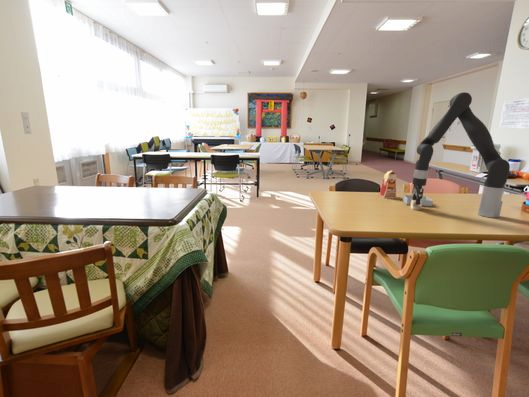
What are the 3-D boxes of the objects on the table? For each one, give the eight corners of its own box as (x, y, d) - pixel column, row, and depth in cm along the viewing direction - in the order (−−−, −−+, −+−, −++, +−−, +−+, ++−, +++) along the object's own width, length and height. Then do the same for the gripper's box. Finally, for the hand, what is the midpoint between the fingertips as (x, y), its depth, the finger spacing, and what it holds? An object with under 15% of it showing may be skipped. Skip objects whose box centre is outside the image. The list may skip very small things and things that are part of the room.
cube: (418, 208, 184) (420, 200, 183) (421, 210, 180) (422, 202, 178) (410, 207, 185) (411, 199, 184) (412, 209, 181) (413, 201, 180)
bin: (426, 201, 200) (426, 196, 199) (431, 206, 188) (432, 200, 187) (402, 200, 204) (402, 194, 203) (406, 204, 191) (407, 198, 190)
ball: (424, 202, 197) (425, 195, 196) (426, 204, 192) (427, 196, 191) (416, 201, 198) (417, 194, 197) (418, 203, 193) (419, 196, 192)
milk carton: (396, 198, 208) (400, 170, 203) (383, 198, 208) (387, 170, 204) (391, 195, 217) (394, 168, 212) (378, 195, 217) (382, 168, 212)
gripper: (430, 179, 171) (425, 206, 174) (423, 175, 184) (419, 200, 188) (416, 178, 172) (411, 205, 176) (410, 174, 186) (406, 199, 190)
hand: (415, 202), depth 182 cm, fingers open, 8 cm apart
